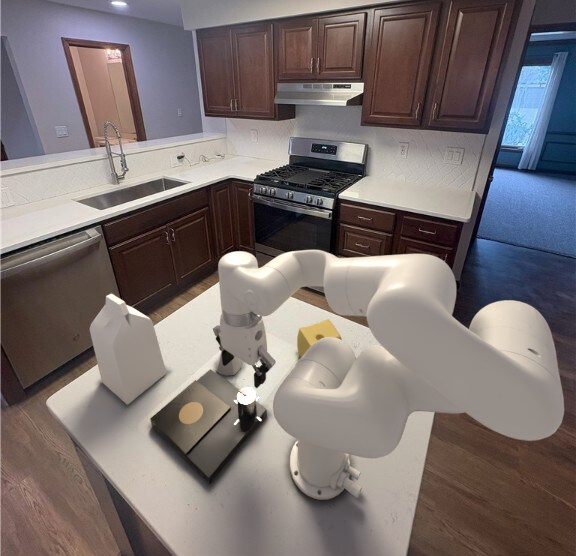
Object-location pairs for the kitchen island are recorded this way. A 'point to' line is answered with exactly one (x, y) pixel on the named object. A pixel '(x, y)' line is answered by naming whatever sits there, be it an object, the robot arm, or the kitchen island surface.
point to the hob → (220, 430)
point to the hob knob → (246, 403)
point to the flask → (228, 366)
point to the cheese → (315, 335)
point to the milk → (126, 349)
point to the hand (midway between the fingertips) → (243, 372)
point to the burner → (190, 416)
